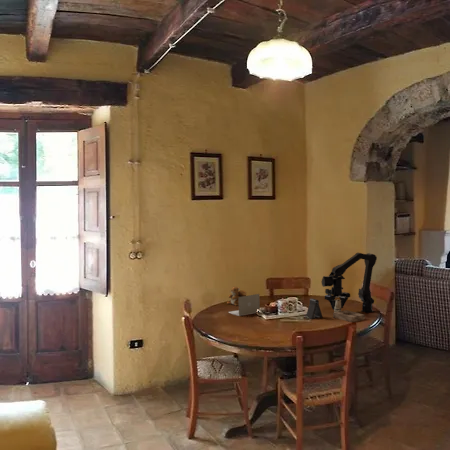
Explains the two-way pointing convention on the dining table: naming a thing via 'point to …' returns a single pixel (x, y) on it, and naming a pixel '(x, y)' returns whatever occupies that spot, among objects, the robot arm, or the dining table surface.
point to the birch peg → (337, 306)
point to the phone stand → (314, 309)
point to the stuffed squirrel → (236, 296)
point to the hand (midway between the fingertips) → (337, 308)
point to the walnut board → (349, 316)
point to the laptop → (247, 305)
